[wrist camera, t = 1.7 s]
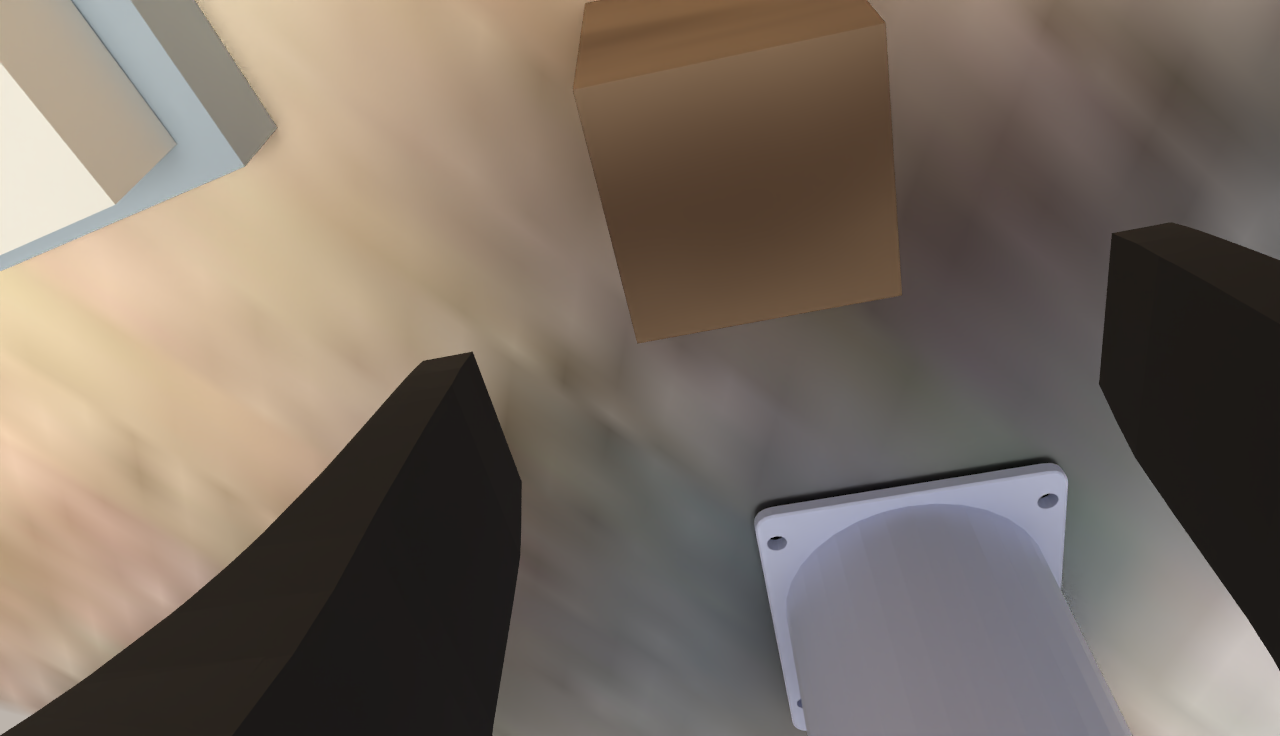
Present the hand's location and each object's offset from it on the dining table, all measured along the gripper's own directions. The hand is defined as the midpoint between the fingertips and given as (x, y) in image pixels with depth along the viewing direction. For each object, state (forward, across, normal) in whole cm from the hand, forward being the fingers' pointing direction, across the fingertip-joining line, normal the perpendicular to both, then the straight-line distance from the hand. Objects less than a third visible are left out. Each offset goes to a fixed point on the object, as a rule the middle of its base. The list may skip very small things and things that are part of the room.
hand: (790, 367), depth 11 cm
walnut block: (+10, 0, 0) cm, 10 cm away
